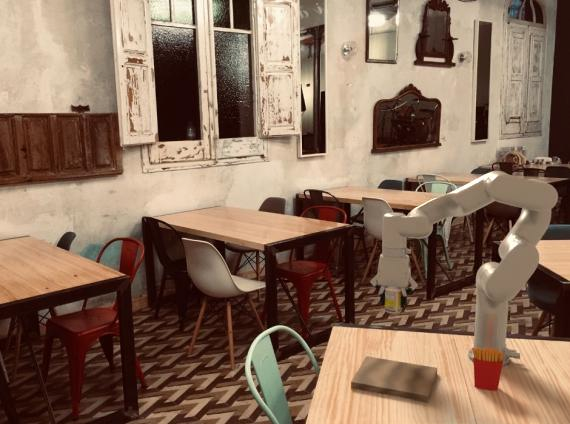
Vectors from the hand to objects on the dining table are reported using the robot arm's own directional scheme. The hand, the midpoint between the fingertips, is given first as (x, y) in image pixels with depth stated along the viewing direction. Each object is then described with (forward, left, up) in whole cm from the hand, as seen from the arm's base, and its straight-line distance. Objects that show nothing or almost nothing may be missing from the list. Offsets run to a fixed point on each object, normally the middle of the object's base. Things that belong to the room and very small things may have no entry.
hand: (393, 305), depth 180 cm
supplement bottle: (0, 0, -2) cm, 2 cm away
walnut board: (-5, +18, -17) cm, 25 cm away
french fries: (-30, +12, -17) cm, 36 cm away
